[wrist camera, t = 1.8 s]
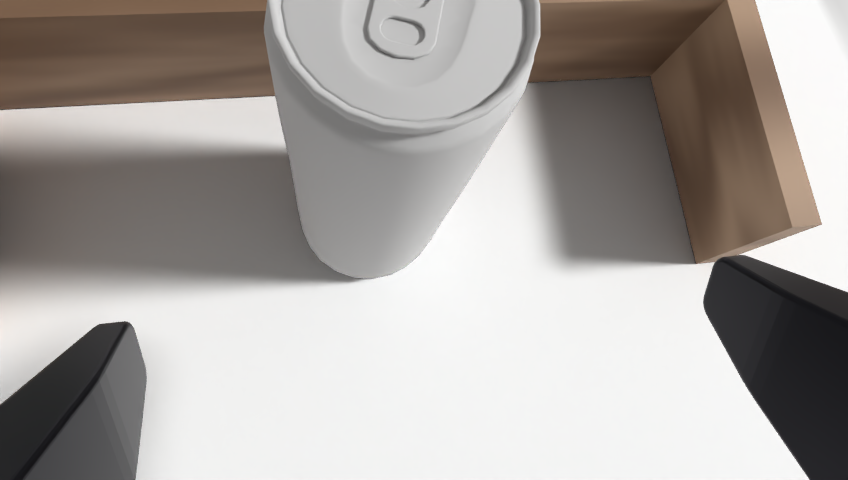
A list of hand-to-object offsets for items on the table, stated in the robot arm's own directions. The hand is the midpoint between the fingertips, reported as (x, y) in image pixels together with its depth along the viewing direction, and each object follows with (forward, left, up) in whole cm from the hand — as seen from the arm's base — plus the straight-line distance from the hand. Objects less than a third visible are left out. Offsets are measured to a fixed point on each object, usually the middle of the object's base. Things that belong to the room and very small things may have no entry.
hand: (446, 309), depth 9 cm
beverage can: (+4, +3, -12) cm, 13 cm away
